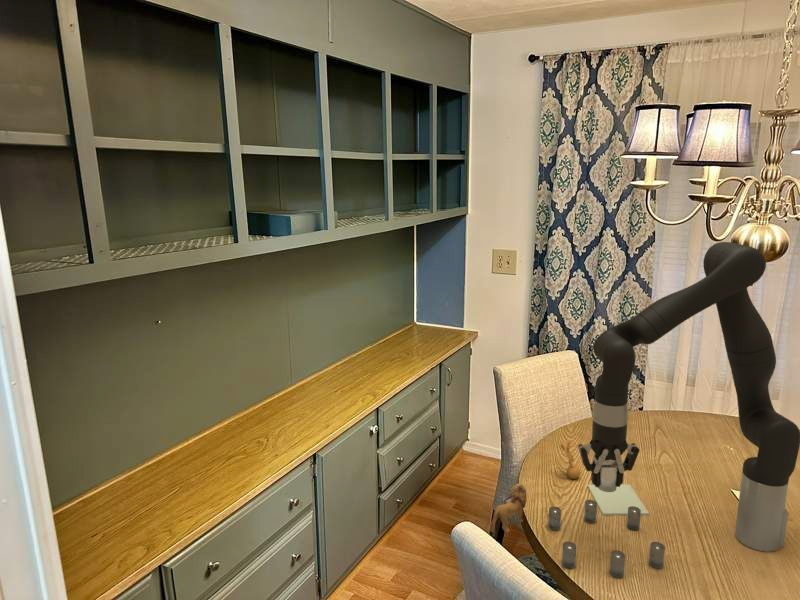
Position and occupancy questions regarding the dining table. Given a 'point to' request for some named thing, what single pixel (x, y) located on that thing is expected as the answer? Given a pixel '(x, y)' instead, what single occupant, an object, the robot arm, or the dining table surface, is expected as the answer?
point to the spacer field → (616, 556)
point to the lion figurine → (510, 508)
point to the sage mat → (617, 500)
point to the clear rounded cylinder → (608, 476)
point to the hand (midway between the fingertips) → (606, 484)
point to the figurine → (572, 470)
